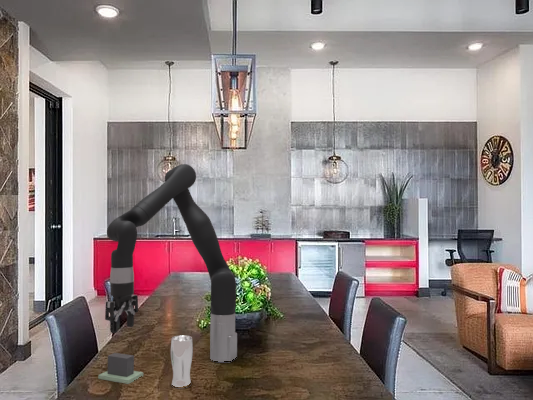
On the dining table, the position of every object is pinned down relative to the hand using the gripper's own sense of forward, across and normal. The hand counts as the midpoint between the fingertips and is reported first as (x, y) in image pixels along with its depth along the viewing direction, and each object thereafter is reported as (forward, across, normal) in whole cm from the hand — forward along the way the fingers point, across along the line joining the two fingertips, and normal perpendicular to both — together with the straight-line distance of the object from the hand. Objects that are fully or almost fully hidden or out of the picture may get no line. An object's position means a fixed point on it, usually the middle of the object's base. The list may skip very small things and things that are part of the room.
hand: (122, 329), depth 164 cm
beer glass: (+16, +2, -21) cm, 27 cm away
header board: (+16, 0, +1) cm, 16 cm away
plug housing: (+15, 0, +1) cm, 15 cm away
